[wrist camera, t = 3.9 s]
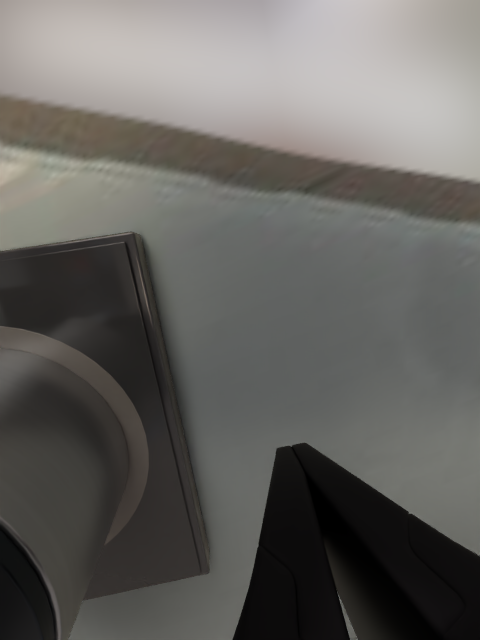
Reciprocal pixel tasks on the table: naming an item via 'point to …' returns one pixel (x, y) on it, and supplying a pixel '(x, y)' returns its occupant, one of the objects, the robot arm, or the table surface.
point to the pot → (52, 493)
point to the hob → (114, 393)
